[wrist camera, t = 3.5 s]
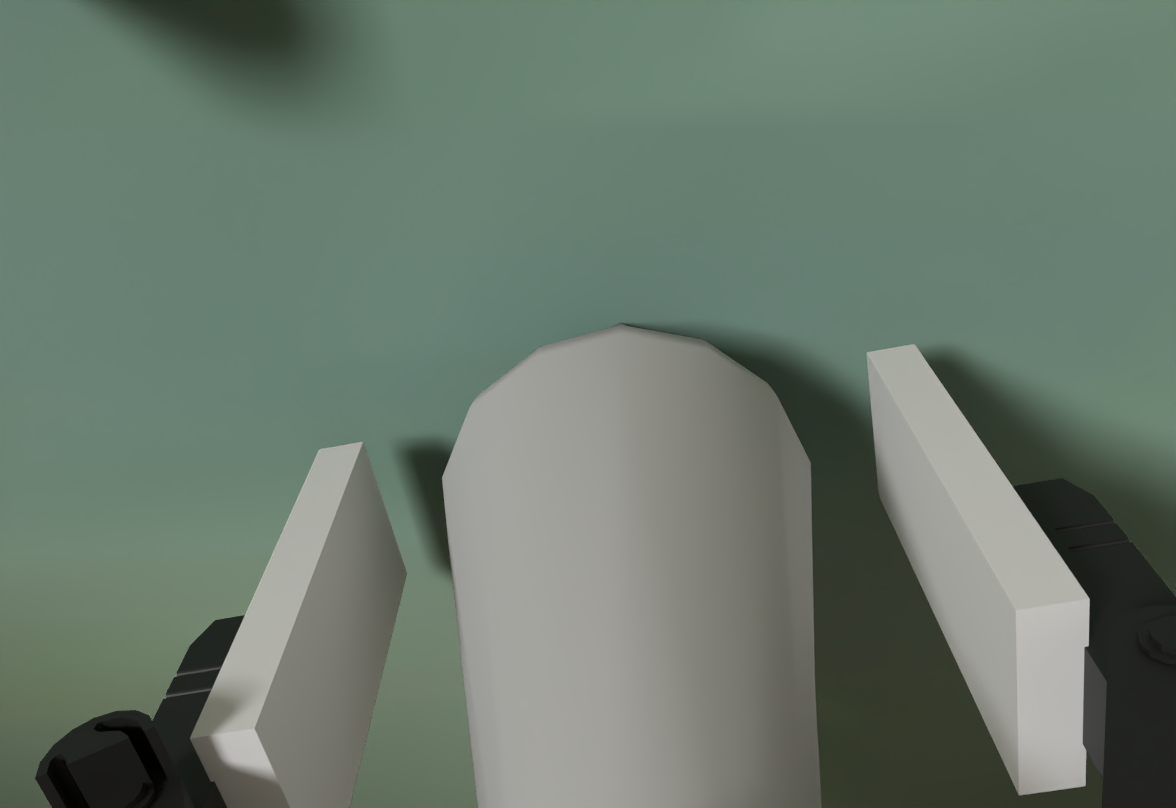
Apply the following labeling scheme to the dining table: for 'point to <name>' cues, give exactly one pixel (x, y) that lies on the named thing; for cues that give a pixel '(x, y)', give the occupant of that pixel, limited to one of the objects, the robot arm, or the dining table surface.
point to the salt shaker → (634, 581)
